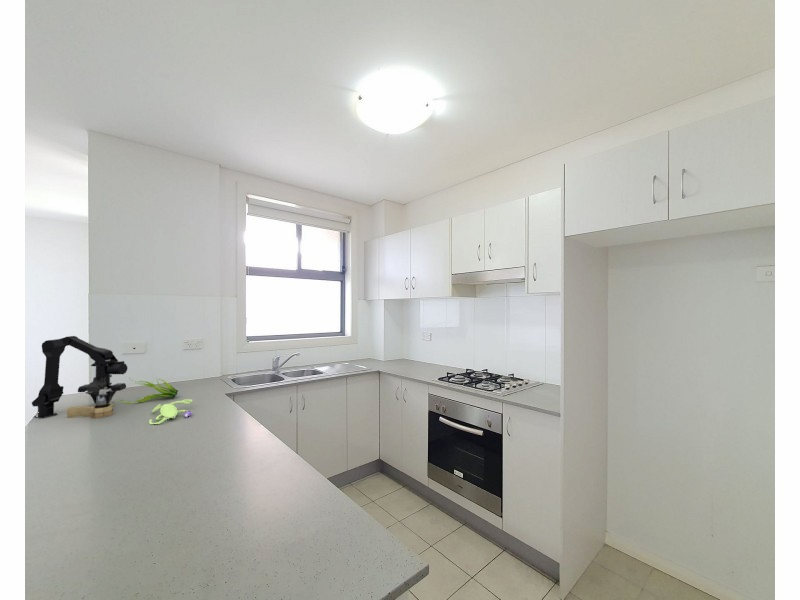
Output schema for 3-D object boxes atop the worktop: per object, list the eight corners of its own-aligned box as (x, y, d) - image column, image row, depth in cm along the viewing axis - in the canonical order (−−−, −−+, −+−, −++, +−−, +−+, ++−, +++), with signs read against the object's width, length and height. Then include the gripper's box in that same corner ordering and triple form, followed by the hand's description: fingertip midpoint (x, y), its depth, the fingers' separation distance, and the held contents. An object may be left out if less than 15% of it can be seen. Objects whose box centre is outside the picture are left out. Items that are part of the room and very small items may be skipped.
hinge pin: (93, 408, 168) (93, 395, 168) (104, 405, 173) (104, 392, 173) (99, 409, 167) (100, 396, 167) (110, 406, 172) (111, 393, 172)
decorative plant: (129, 397, 202) (129, 374, 202) (180, 396, 205) (180, 373, 205) (106, 407, 184) (107, 381, 184) (162, 405, 187) (162, 380, 187)
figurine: (192, 406, 188) (192, 396, 188) (193, 419, 166) (193, 409, 166) (152, 411, 178) (152, 401, 178) (148, 427, 156) (148, 415, 156)
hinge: (66, 417, 166) (66, 407, 166) (102, 407, 182) (102, 398, 182) (89, 421, 161) (89, 411, 161) (124, 411, 176) (124, 402, 176)
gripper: (69, 378, 160) (69, 410, 160) (113, 377, 164) (113, 407, 164) (86, 373, 171) (85, 403, 171) (127, 372, 175) (126, 401, 175)
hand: (102, 403), depth 170 cm, fingers closed on hinge pin, 5 cm apart
